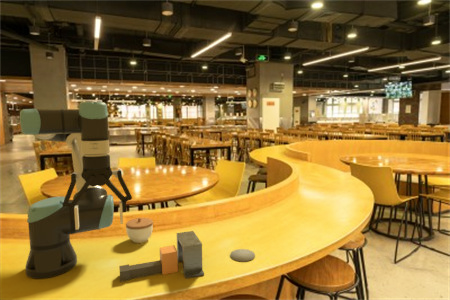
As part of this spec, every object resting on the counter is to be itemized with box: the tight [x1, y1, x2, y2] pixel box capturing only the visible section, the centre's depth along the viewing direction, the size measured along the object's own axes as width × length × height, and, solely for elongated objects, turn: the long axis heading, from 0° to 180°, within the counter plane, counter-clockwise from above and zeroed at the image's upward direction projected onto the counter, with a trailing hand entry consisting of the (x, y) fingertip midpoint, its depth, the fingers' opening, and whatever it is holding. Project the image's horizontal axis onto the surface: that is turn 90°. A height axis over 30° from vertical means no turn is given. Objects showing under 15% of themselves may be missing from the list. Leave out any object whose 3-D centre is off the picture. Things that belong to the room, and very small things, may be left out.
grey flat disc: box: [229, 248, 256, 263], centre depth 109 cm, size 9×9×1 cm
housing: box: [176, 230, 205, 280], centre depth 101 cm, size 16×6×10 cm, turn 21°
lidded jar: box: [125, 217, 154, 244], centre depth 123 cm, size 11×11×9 cm
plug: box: [119, 245, 179, 282], centre depth 97 cm, size 5×18×7 cm, turn 110°
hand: (100, 225), depth 90 cm, fingers open, 12 cm apart
